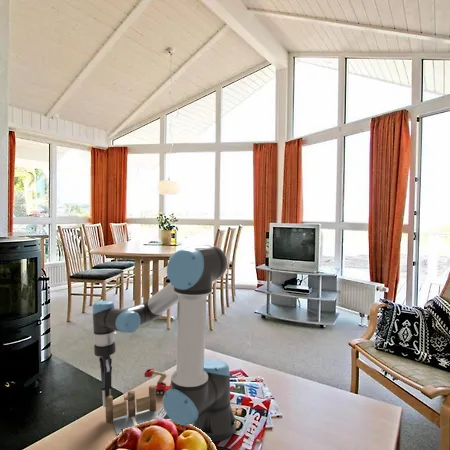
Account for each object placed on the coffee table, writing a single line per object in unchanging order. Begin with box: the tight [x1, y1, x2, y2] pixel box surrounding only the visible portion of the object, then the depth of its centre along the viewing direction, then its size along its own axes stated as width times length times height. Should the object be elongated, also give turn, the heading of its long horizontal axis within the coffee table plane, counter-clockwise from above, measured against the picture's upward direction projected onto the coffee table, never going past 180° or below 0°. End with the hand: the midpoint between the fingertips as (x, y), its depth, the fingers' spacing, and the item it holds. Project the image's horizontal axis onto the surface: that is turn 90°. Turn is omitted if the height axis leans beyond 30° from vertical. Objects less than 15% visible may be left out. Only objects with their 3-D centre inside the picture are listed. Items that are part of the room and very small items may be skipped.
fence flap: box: [104, 390, 136, 424], centre depth 129 cm, size 3×11×9 cm, turn 116°
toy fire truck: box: [144, 368, 171, 395], centre depth 149 cm, size 3×14×10 cm, turn 84°
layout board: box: [112, 406, 158, 436], centre depth 130 cm, size 15×16×1 cm
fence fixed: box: [127, 384, 157, 417], centre depth 133 cm, size 3×11×9 cm, turn 116°
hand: (107, 405), depth 131 cm, fingers closed
